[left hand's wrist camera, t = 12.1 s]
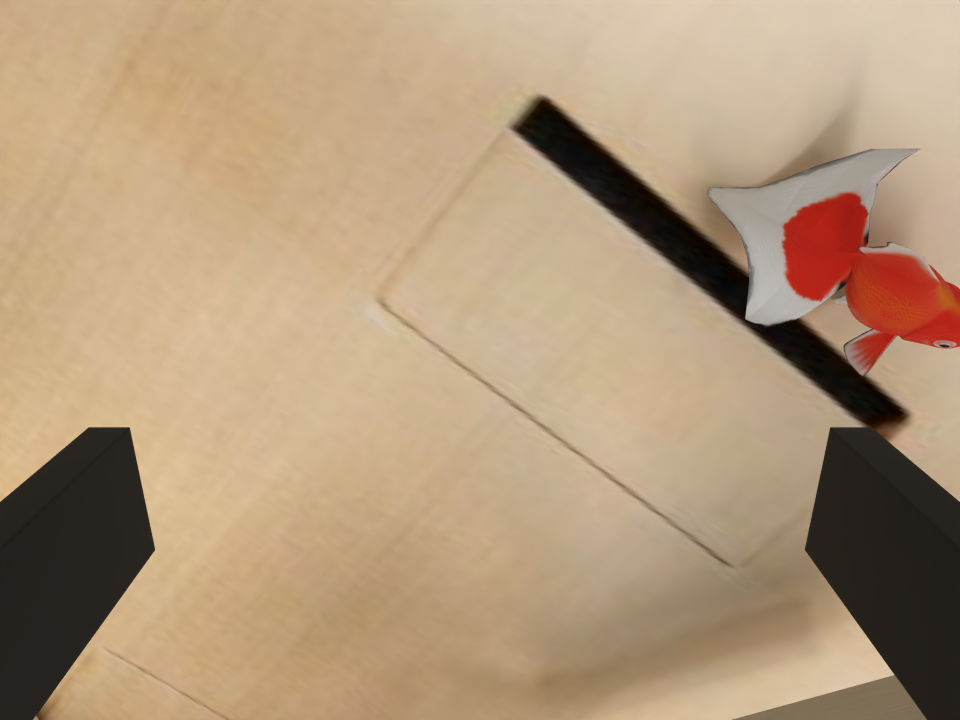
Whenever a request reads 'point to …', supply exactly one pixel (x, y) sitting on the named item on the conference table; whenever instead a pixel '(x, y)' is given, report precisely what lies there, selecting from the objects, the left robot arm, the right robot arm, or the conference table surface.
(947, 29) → the conference table surface
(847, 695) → the bar
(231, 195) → the conference table surface
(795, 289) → the fish
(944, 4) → the conference table surface
